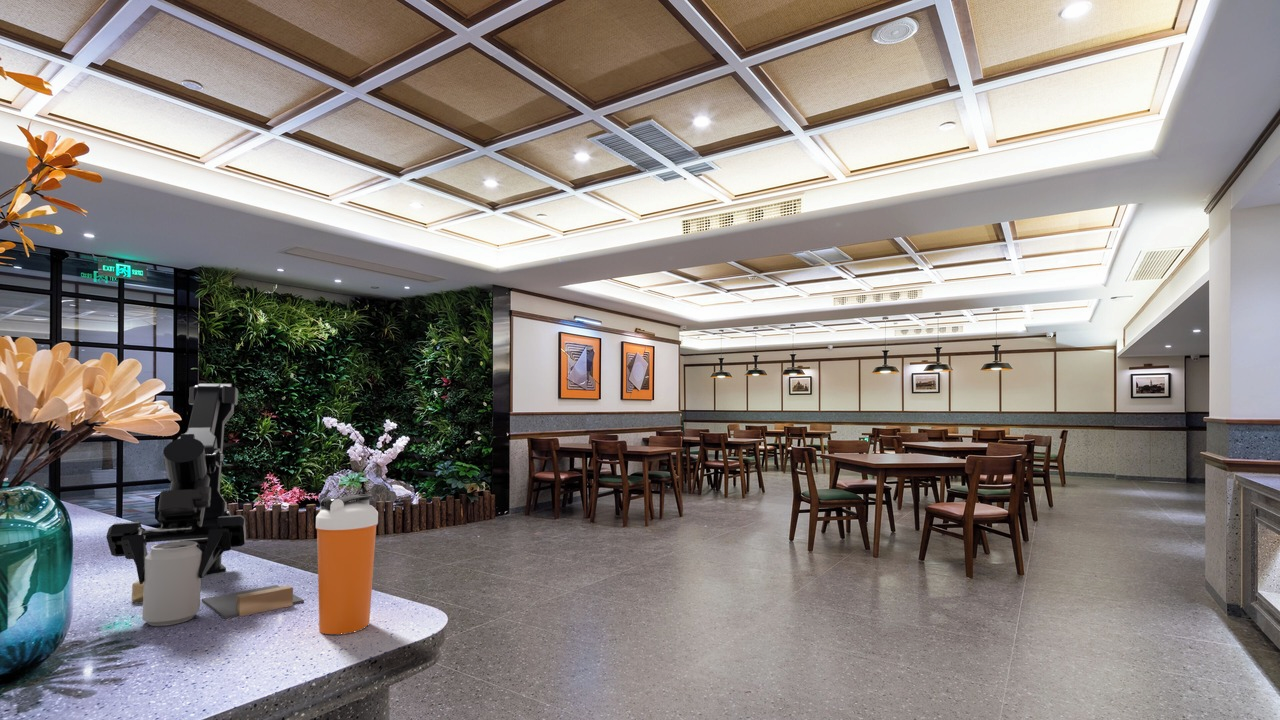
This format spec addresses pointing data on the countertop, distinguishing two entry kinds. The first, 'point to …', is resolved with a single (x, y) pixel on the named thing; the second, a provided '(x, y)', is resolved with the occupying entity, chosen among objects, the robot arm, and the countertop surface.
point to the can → (172, 583)
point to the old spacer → (137, 592)
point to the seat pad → (234, 602)
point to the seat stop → (264, 600)
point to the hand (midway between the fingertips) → (171, 579)
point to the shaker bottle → (345, 562)
